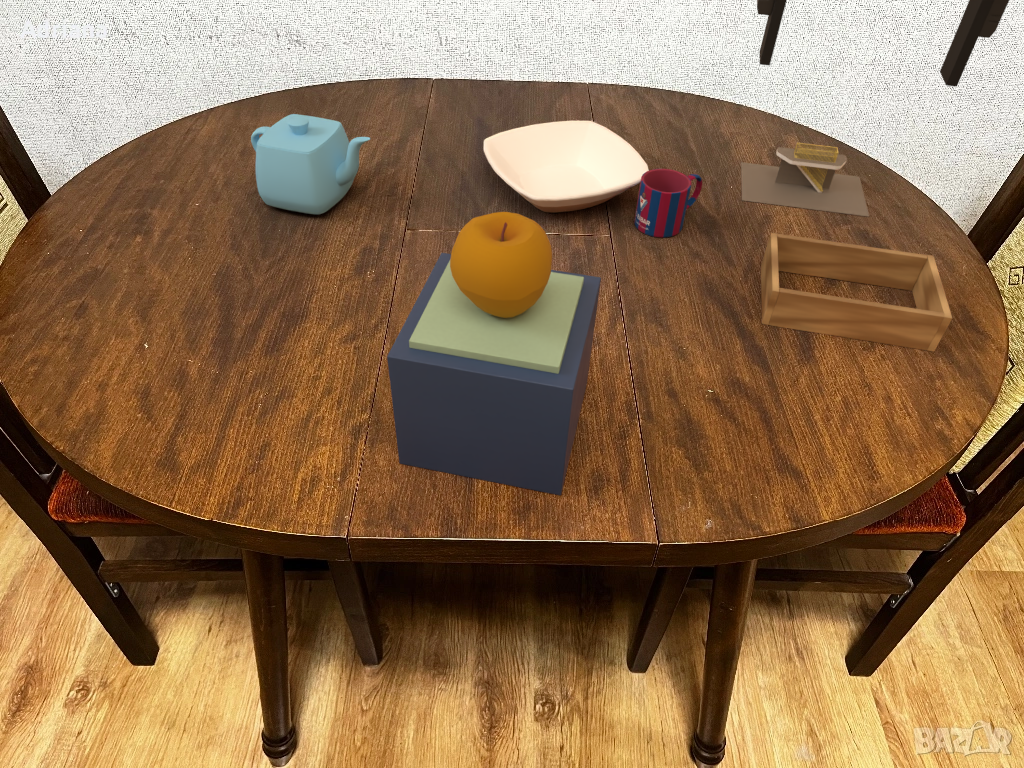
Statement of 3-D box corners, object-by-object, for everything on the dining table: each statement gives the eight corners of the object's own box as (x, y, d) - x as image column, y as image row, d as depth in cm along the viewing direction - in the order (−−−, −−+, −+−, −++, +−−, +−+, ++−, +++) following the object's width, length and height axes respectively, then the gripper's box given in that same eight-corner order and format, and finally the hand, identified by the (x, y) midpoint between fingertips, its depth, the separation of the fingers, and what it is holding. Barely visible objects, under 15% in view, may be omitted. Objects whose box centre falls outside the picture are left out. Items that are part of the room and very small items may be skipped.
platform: (869, 216, 110) (886, 175, 105) (741, 200, 112) (752, 158, 107) (859, 176, 118) (874, 136, 114) (741, 162, 120) (751, 122, 116)
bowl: (592, 144, 123) (596, 113, 119) (663, 211, 109) (669, 178, 105) (467, 167, 117) (467, 135, 113) (525, 242, 102) (526, 207, 99)
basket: (934, 351, 88) (952, 318, 85) (761, 324, 91) (772, 290, 88) (917, 288, 97) (933, 255, 94) (760, 265, 100) (770, 232, 97)
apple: (443, 331, 66) (439, 244, 60) (463, 274, 72) (461, 190, 66) (541, 343, 65) (547, 256, 59) (553, 284, 71) (560, 200, 65)
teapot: (359, 232, 103) (349, 153, 95) (240, 208, 106) (221, 130, 98) (395, 188, 112) (388, 112, 104) (284, 167, 115) (270, 93, 107)
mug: (625, 217, 108) (631, 173, 103) (684, 203, 111) (693, 160, 106) (650, 242, 103) (658, 197, 98) (711, 226, 106) (722, 182, 102)
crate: (561, 495, 72) (573, 389, 62) (399, 463, 74) (386, 356, 64) (587, 382, 83) (601, 277, 73) (445, 357, 85) (441, 252, 76)
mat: (558, 374, 63) (559, 367, 63) (409, 347, 65) (408, 340, 65) (583, 283, 73) (584, 276, 72) (451, 262, 74) (451, 256, 74)
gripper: (1191, -295, 45) (1016, 68, 60) (758, -314, 48) (694, 33, 63) (1250, -289, 40) (1041, 108, 54) (759, -310, 43) (688, 68, 58)
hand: (854, 69), depth 59 cm, fingers open, 13 cm apart
